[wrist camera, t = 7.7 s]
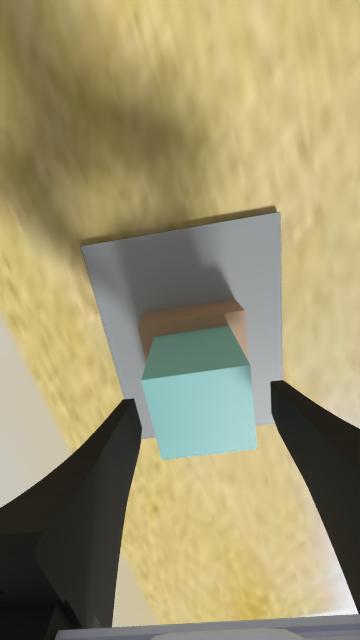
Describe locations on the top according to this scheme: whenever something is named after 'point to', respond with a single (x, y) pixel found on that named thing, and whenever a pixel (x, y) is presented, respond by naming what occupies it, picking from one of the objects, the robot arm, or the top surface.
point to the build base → (192, 297)
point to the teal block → (199, 393)
